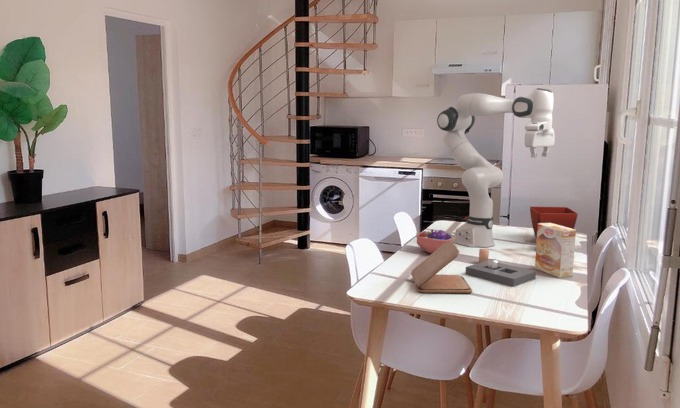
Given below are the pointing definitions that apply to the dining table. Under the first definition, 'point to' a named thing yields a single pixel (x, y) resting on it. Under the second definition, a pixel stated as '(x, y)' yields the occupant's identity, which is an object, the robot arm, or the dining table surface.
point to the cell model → (433, 240)
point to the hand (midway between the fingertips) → (539, 157)
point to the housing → (501, 273)
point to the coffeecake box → (555, 249)
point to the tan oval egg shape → (483, 255)
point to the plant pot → (553, 216)
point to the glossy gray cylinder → (493, 264)
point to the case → (432, 265)
